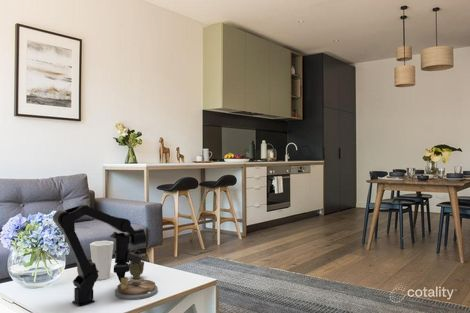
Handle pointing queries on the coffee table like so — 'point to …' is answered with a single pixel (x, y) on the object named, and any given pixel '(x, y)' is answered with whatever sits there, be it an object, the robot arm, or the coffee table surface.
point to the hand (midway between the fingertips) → (121, 283)
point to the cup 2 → (136, 269)
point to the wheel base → (137, 296)
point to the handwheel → (135, 286)
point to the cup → (102, 257)
